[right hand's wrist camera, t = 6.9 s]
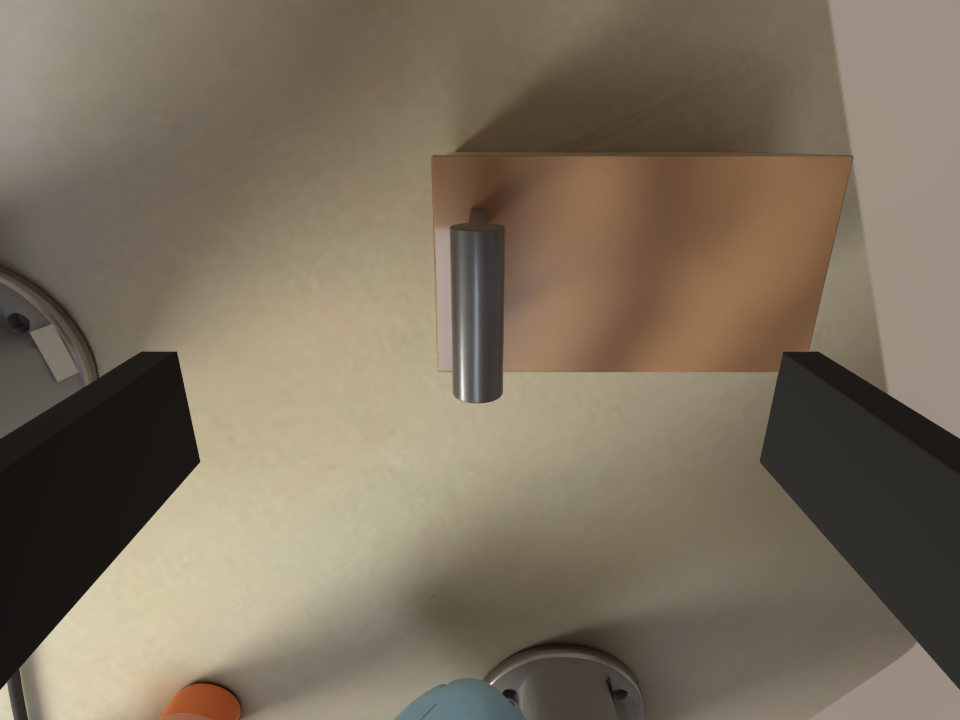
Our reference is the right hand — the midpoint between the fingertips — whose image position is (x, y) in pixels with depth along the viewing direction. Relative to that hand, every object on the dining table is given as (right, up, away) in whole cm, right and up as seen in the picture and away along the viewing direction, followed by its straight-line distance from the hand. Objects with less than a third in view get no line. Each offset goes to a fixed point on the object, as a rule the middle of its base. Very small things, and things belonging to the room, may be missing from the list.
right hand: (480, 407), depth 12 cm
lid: (+7, +6, +14) cm, 17 cm away
